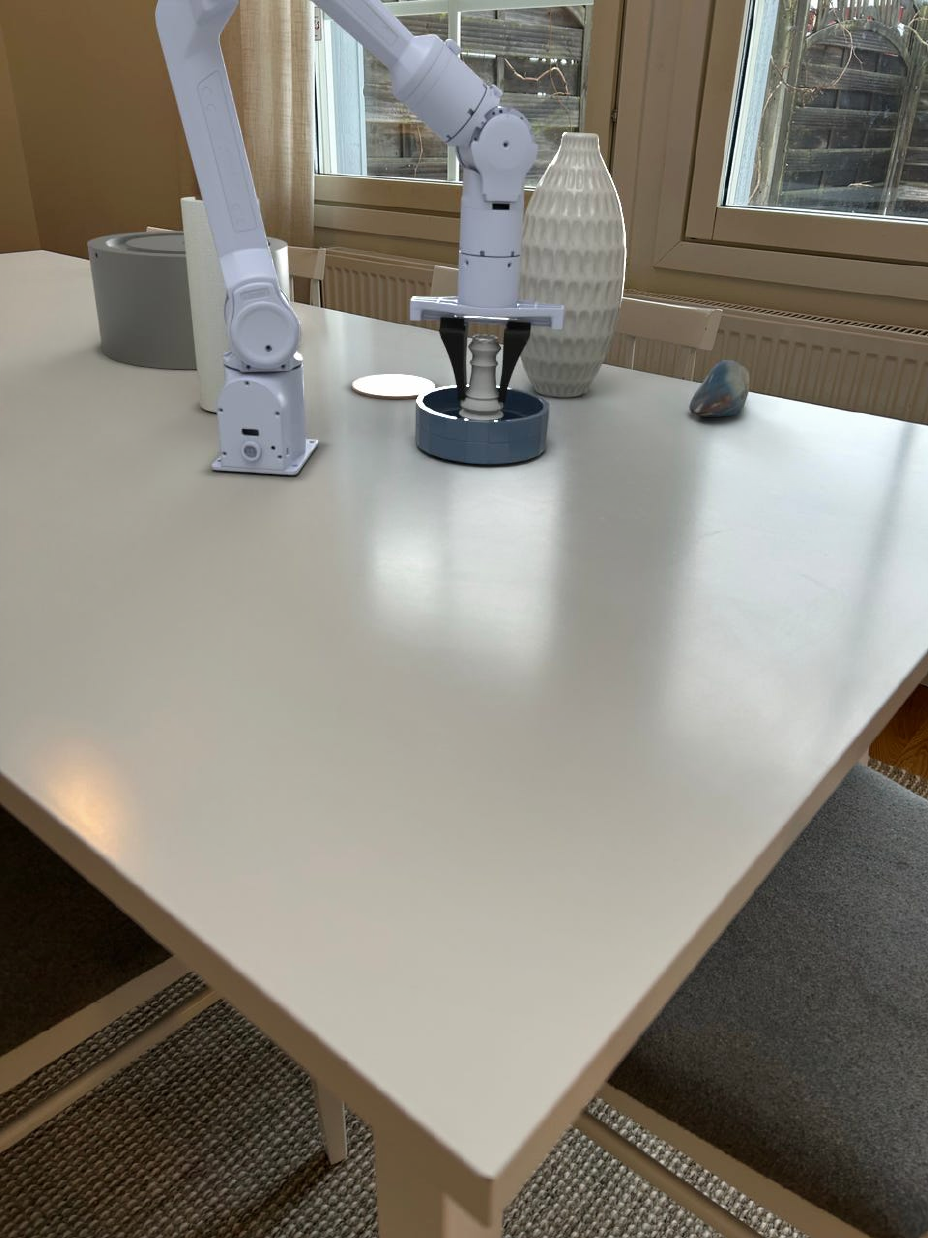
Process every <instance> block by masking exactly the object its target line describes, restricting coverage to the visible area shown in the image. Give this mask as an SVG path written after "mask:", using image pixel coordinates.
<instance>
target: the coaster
mask: <svg viewBox="0 0 928 1238" xmlns="http://www.w3.org/2000/svg"><path fill="white" fill-rule="evenodd" d="M351 389H352V390H353V392H355V393H357V394H359V395H361V396H365V397H368V398H369V397H370V398H374V399H382V400H409V399H410V400H411V399H417V398H418V396H419V395H421V394H423V393H425V392H426V391H429V390H433V389H436V385H435V383H434V382H432V381H431V380H429V379H427V378H423V377H420V376H415V375H409V374H396V373H395V374H392V373H386V374H385V373H384V374H373V375H366V376H363V377H362V376H361V377H359V378H357V379H355V380H353V381H352V383H351Z"/></svg>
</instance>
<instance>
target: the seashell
mask: <svg viewBox="0 0 928 1238" xmlns="http://www.w3.org/2000/svg"><path fill="white" fill-rule="evenodd" d="M750 386H751V378H750V372H749V370H748V369H747V368H746V367H745V366H743V365H741V364H740V363H738V362H737V361H734V360H730V359H723V360H721V361H719V362H718V363H717V364H716V365H715V366H714V367H712V369H711V370H710V371H709V373H708V374H707V375H706V377H705V378H704V379H703V381H702V382H701V384H700V385H699V387H698V388H697V390H696V391H695V392H694V394H693V396H692V398H691V400H690V403H689V406H688V409H689V411H690V412H691V413H692V414H694V415H695V416H699V417H702V418H714V417H716V418H717V417H718V418H719V417H728V416H733V415H737V414H739V413H741V412H742V410H743V409H744V406H745V404H746V402H747V400H748V396H749V392H750Z"/></svg>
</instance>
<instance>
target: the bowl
mask: <svg viewBox="0 0 928 1238" xmlns="http://www.w3.org/2000/svg"><path fill="white" fill-rule="evenodd" d="M468 387H469V384H467V390H468ZM496 387H497V392H498V393H499V387H500V385H496ZM460 403H461V400H458V395H457V386H456V385H449V386H441V387H437V388H435V389H433V390H429V391H426V392H425V393H423V394H421V395H419V396H418V398H416V400H415V423H414V424H415V426H414V427H415V429H414V431H415V432H414V434H415V435H414V437H415V438H414V441H415V442H416V445H417V446H418V448H419V449H421V450H422V451H424V452H425V453H427V454H429V455H432V456H435V457H438V458H440V459H443V460H448V461H452V462H455V463H461V464H462V463H463V464H471V465H484V466H485V465H505V464H512V463H513V464H514V463H518V462H522V461H527V460H530V459H532V458H535V457H538V456H540V455H541V454H542V453H544V452H545V451H546V450H547V441H548V428H549V418H550V417H549V415H550V403H549V402H548V401H547V400H546V399H545V398H544V397H542V396H539V395H538V394H535V393H533V392H530V391H527V390H522V389H518V388H514V387H513V388H512V387H508V389H507V395H506V402H505V403H503V402H502V403H503V408H502V409H501V410H500V411H501V412H502V413H503V417H502V418H501V419H500V420H490V421H488V420H472V419H464V418H462V417H461V416H460V414H459V411H461V410H462V409H463V408H462V407H461V405H460Z"/></svg>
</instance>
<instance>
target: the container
mask: <svg viewBox="0 0 928 1238" xmlns="http://www.w3.org/2000/svg"><path fill="white" fill-rule="evenodd" d="M266 238H267V242H268V246H269V250H270V254H271V257H272V261H273V264H274V268H275V271H276V275H277V279H278V283H279V287H280V288H281V289H282V290H283V291H284V293H285V294H286V296H287V297H288V299H289V302H290V303H291V290H290V289H291V288H290V273H289V272H290V270H289V248H288V242H286V241H284V240H282V239H280V238H275V237H271V236H266ZM86 243H87V244H86V245H87V252H88V259H89V263H90V264H89V266H90V272H91V279H92V286H93V294H94V300H95V301H94V302H95V309H96V313H97V314H96V316H97V322H98V328H99V329H98V330H99V336H100V343H101V349H102V353H103V355H105V356H106V357H107V358H109V359H111V360H114V361H117V362H119V363H123V364H128V365H133V366H139V367H145V368H154V369H164V370H165V369H167V370H197V363H196V353H195V343H194V333H193V322H192V312H191V302H190V292H189V281H188V271H187V261H186V251H185V241H184V230H162V231H161V230H159V231H157V230H155V231H137V232H125V233H117V234H116V233H115V234H109V235H104V236H99V237H94V238H91V239H89V240H88V241H87V242H86Z"/></svg>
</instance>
